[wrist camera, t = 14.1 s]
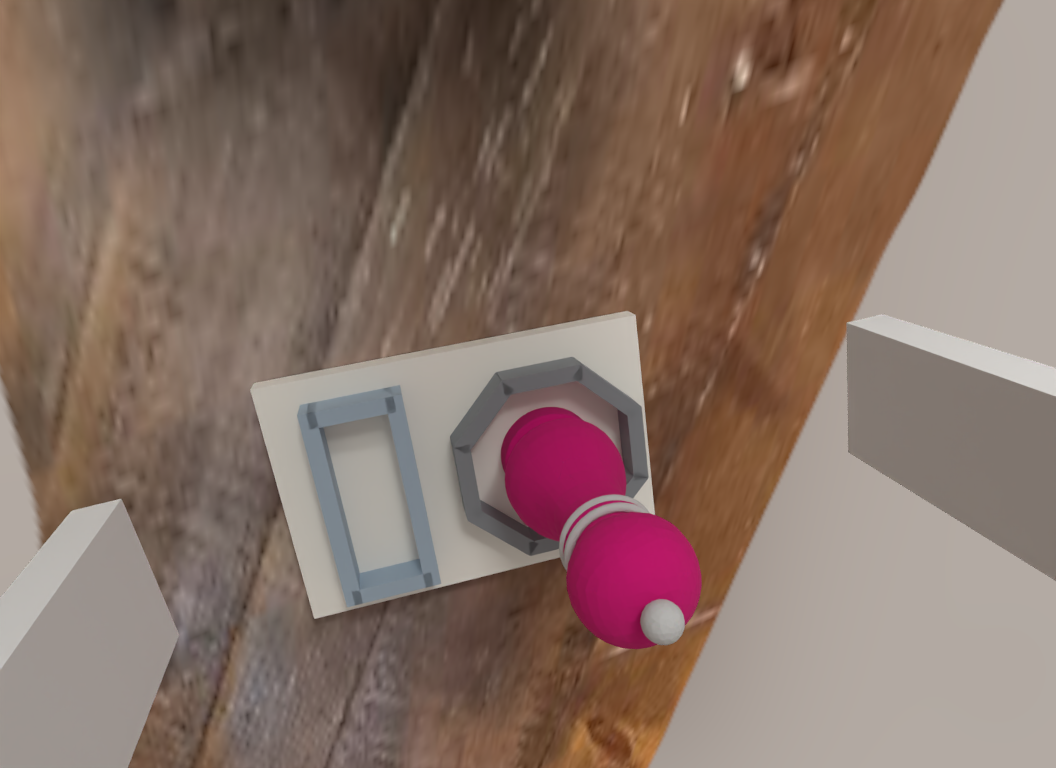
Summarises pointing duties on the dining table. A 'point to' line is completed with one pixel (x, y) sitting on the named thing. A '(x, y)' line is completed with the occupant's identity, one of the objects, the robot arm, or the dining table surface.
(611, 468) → the pepper mill
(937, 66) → the dining table surface
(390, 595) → the holder board
